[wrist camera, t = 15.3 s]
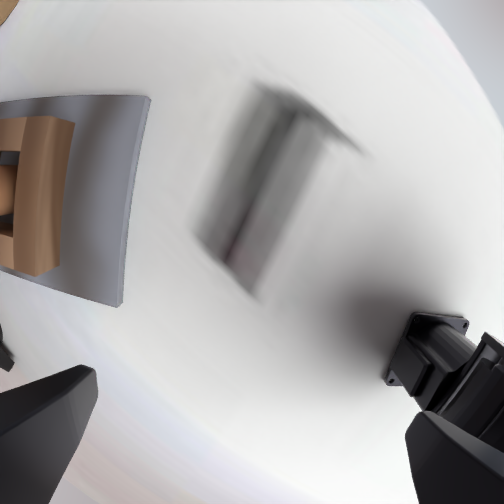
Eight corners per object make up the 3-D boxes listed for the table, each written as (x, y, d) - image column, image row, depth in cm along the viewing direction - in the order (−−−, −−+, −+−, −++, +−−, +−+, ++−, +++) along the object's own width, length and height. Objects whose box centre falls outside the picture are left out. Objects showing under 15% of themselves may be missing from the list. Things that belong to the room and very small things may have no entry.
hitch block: (151, 100, 17) (128, 82, 13) (122, 302, 20) (98, 326, 16) (-24, 109, 16) (-51, 104, 12) (-36, 250, 19) (-63, 259, 15)
